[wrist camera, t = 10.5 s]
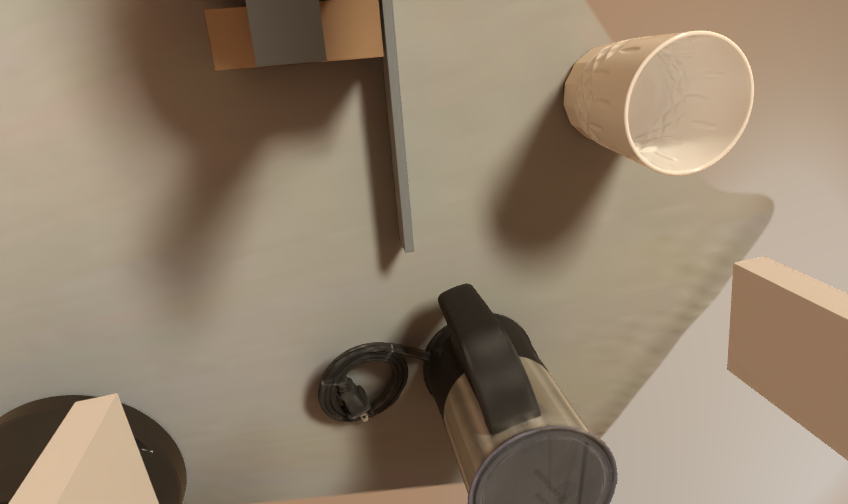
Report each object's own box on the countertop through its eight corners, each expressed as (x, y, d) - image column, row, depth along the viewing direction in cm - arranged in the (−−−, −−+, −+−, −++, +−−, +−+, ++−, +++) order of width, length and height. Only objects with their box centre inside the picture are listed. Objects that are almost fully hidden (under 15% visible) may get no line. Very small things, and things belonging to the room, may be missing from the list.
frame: (244, 259, 41) (233, 292, 35) (158, -180, 32) (125, -228, 26) (411, 237, 43) (426, 266, 37) (374, -185, 34) (386, -232, 28)
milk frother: (552, 365, 49) (646, 491, 35) (406, 476, 50) (441, 640, 36) (455, 244, 43) (520, 335, 30) (294, 370, 45) (284, 515, 31)
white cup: (558, 34, 40) (632, 31, 30) (664, 33, 41) (766, 29, 32) (551, 149, 42) (617, 179, 33) (650, 145, 44) (741, 172, 34)
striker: (230, 67, 36) (158, 84, 19) (221, 15, 35) (135, -13, 18) (373, 55, 37) (420, 61, 21) (368, 5, 36) (413, -31, 20)
